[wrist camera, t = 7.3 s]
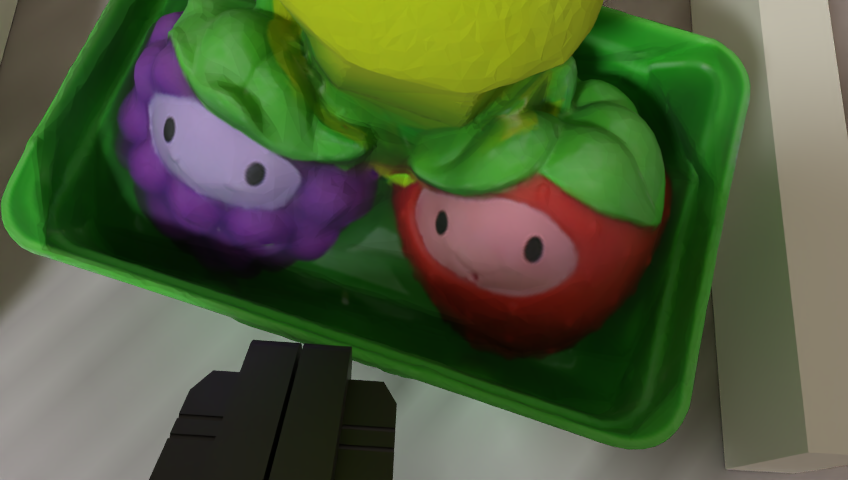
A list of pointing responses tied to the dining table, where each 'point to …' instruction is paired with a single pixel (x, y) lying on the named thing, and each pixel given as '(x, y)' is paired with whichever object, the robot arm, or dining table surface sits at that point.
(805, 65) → the corral
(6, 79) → the dining table surface
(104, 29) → the fruit basket
